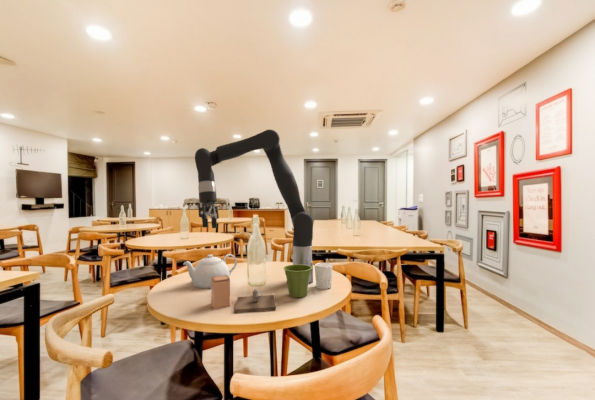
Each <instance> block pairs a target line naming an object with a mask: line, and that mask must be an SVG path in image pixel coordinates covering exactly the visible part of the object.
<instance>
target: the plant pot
mask: <svg viewBox="0 0 595 400" xmlns="http://www.w3.org/2000/svg"><path fill="white" fill-rule="evenodd" d="M282 268H283V270H284V273H285V277H286V283H287V289H288V294H289V296H290V297H291V298H295V299H296V298H305V297H306V296H307V294H308V287H309V283H308V282H309V275H310V271H311V269H312V267H311V266H308V265H293V264H289V265H284V267H282Z"/></svg>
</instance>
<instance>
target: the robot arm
mask: <svg viewBox="0 0 595 400" xmlns="http://www.w3.org/2000/svg"><path fill="white" fill-rule="evenodd" d="M256 150H263V151H264V153H265V155H266V158H267V159H268V161H269V164H270V167H271V171H272V174H273V177H274V181H275V183H276V185H277V188H278V191H279V193H280V196H281V197H282V199H283V201H284V203H285V204H286V206H287V209H288V212H289V215H290V218H291V223H292V226H293V234H292V235H293V238H292V265H308V266H311V267H312V269H311V271H310V275H309V282H308V284H310V283H314V263H313V245H312V244H313V240H314V239H313V237H314V232H313V231H314V222H313V218H312V216H311V215H310V214H309V213H307V211H306V209H305V207H304V205H303V202H302V200H301V196H300V191H299V186H298V183H297V181H296V178H295V175H294V173H293V172H292V169H291V167H290V166H289V163H287V161H286V159H285V157H284V155H283V152H282V149H281V144H280V136H279V133H278V132H277V131H276V130H274V129H266V130H264V131H262V132H258V133H257V134H255V135H252V136H250V137H247V138H244V139H241V140H237V141H233V142H230V143H227V144H222V145H219V146H216V148H215V150H212V151H209V150H208V149H207V148H203V147H202V148H199V149H197V150H196V152H195V154H194V161H195V167H196V170H197V179H198V181H197V182H198V189H197V190H198V200H199V201H198V218H201V221H202V228H203V229H204V228H205V229H206V228H208V227H209V220H208V218H209V217H210V219H211V228H212V229H217V228H218V223H217V221H218V219H219V218H220V215H219V207H218V206H217V205H215V203H217V201H218V200H217V199H218V198H217V188H216V182H215V173H214V171H213V169H212V167H213V166H216V165H218V164H220V163H222V162H224V161H228V160H232V159H235V158H238V157H241V156H243V155H245V154H247V153H249V152H252V151H256Z"/></svg>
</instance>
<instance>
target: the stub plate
mask: <svg viewBox="0 0 595 400" xmlns="http://www.w3.org/2000/svg"><path fill="white" fill-rule="evenodd" d="M276 307H277V305H276V300H275V295H274V294H268V295H267V294H266V295H260V291H259V289H257V288H254V289H253V290H252V295H250V296H248V295H246V296H237V299H236V303H235V308H234V314H238V313H239V314H240V313H254V312H270V311H276V310H277V308H276Z"/></svg>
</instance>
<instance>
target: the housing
mask: <svg viewBox="0 0 595 400" xmlns="http://www.w3.org/2000/svg"><path fill="white" fill-rule="evenodd" d="M210 291H211V292H210V294H211V295H210V297H211V298H210V299H211V300H210V301H211V302H210V304H211V306H212V308H213V309H214V310H217V309H222V308H228V307H230V306H231V279H230V277H228V276H227V275H224V276H216V277H211V288H210Z"/></svg>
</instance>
